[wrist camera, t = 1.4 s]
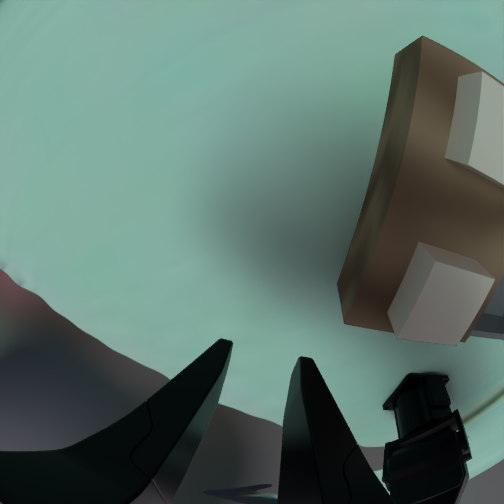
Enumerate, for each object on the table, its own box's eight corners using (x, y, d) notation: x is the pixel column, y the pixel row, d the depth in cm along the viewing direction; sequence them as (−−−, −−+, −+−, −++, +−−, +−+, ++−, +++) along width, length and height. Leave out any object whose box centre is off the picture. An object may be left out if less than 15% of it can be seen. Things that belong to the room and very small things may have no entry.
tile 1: (444, 322, 16) (456, 345, 13) (387, 312, 16) (396, 338, 14) (476, 260, 13) (495, 279, 11) (418, 241, 14) (435, 261, 12)
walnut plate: (444, 306, 20) (464, 342, 16) (337, 283, 21) (343, 324, 17) (506, 115, 13) (545, 119, 8) (395, 54, 13) (422, 35, 9)
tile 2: (501, 187, 11) (525, 199, 9) (444, 157, 12) (467, 165, 9) (515, 114, 9) (540, 117, 7) (458, 76, 9) (482, 71, 7)
